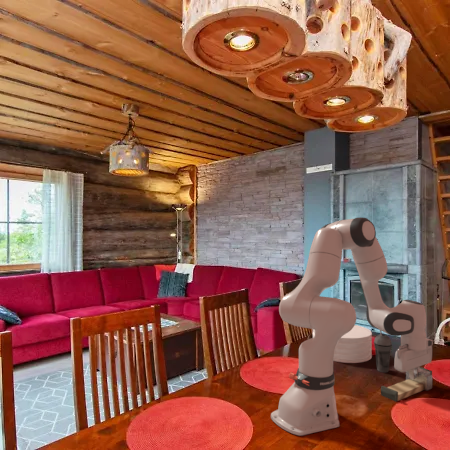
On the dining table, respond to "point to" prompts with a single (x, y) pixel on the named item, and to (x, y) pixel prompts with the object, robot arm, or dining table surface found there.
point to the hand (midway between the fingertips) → (413, 378)
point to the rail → (403, 389)
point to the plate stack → (353, 346)
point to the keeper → (422, 378)
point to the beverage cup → (382, 352)
